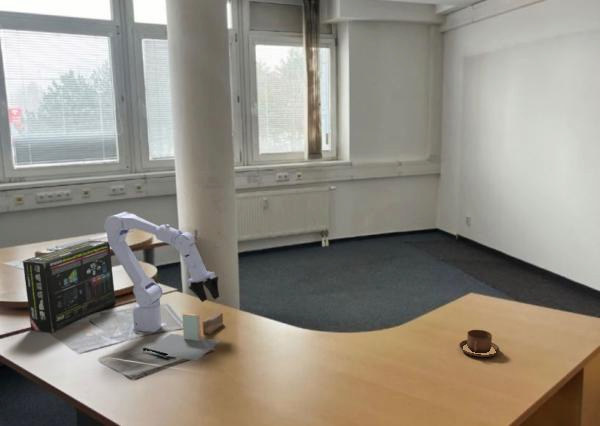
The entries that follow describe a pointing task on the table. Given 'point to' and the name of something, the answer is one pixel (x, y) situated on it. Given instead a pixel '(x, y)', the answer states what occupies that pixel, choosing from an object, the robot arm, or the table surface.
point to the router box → (68, 285)
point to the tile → (191, 327)
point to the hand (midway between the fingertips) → (210, 299)
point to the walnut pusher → (212, 323)
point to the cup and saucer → (479, 343)
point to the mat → (183, 347)
